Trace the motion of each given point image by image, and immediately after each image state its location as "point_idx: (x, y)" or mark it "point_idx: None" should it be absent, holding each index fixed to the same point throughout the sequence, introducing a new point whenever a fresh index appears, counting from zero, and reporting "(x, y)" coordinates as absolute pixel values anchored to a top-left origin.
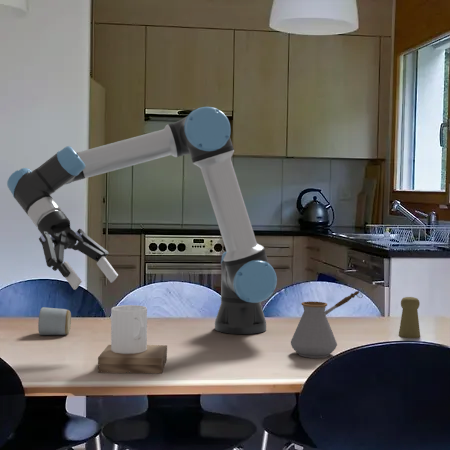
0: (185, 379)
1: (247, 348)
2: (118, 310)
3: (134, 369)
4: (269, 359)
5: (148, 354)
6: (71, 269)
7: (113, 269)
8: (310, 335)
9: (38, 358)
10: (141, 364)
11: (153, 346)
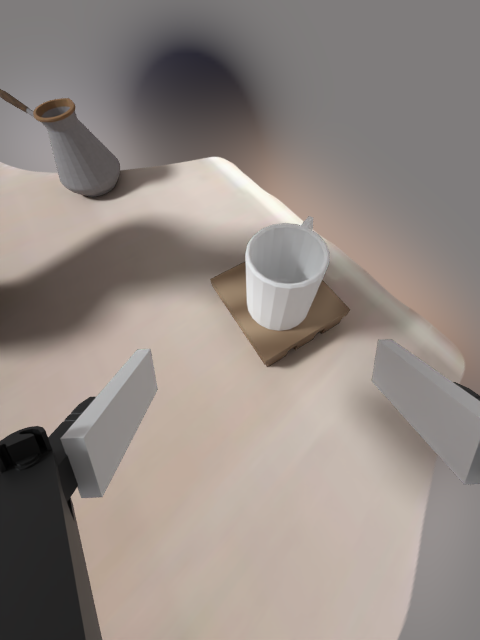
0: None
1: (91, 247)
2: (328, 250)
3: None
4: (144, 205)
5: None
6: (439, 377)
7: (126, 366)
8: (106, 150)
9: (353, 503)
10: None
11: (229, 290)
